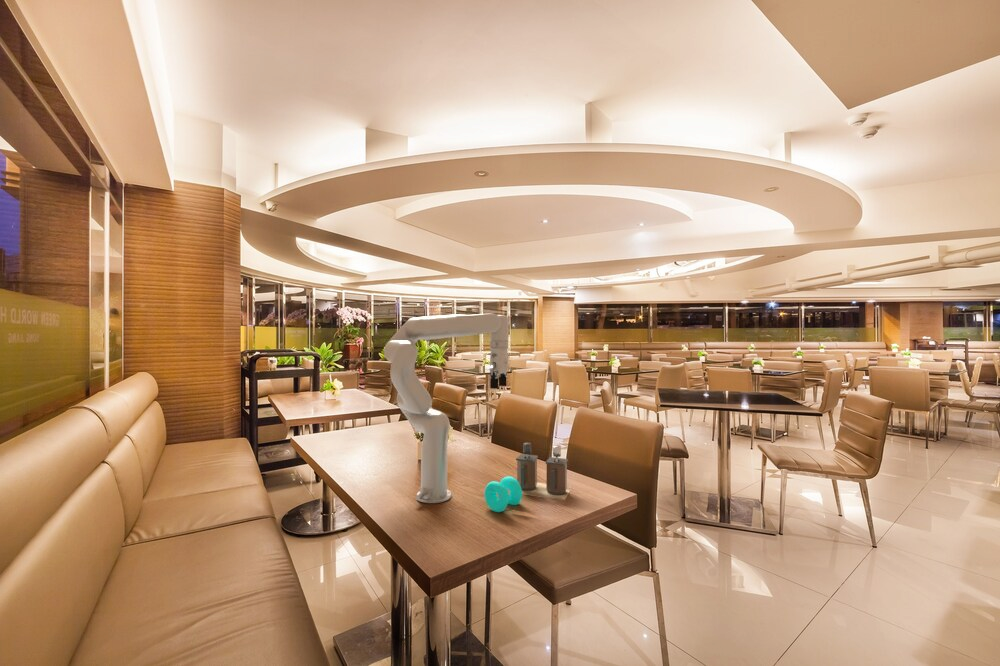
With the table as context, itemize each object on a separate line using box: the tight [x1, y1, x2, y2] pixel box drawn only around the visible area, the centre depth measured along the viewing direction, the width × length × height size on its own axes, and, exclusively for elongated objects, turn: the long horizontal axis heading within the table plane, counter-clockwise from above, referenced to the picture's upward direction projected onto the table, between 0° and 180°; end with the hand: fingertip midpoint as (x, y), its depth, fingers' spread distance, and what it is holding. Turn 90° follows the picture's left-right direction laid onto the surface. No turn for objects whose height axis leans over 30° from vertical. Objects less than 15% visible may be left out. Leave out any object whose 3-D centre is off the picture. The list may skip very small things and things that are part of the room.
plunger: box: [552, 444, 562, 462], centre depth 154 cm, size 5×5×16 cm
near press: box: [545, 456, 568, 495], centre depth 153 cm, size 9×7×12 cm
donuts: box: [484, 476, 523, 513], centre depth 142 cm, size 10×10×10 cm
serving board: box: [522, 481, 572, 501], centre depth 156 cm, size 14×20×1 cm
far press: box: [515, 442, 539, 491], centre depth 157 cm, size 9×7×17 cm
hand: (498, 387), depth 169 cm, fingers open, 9 cm apart
